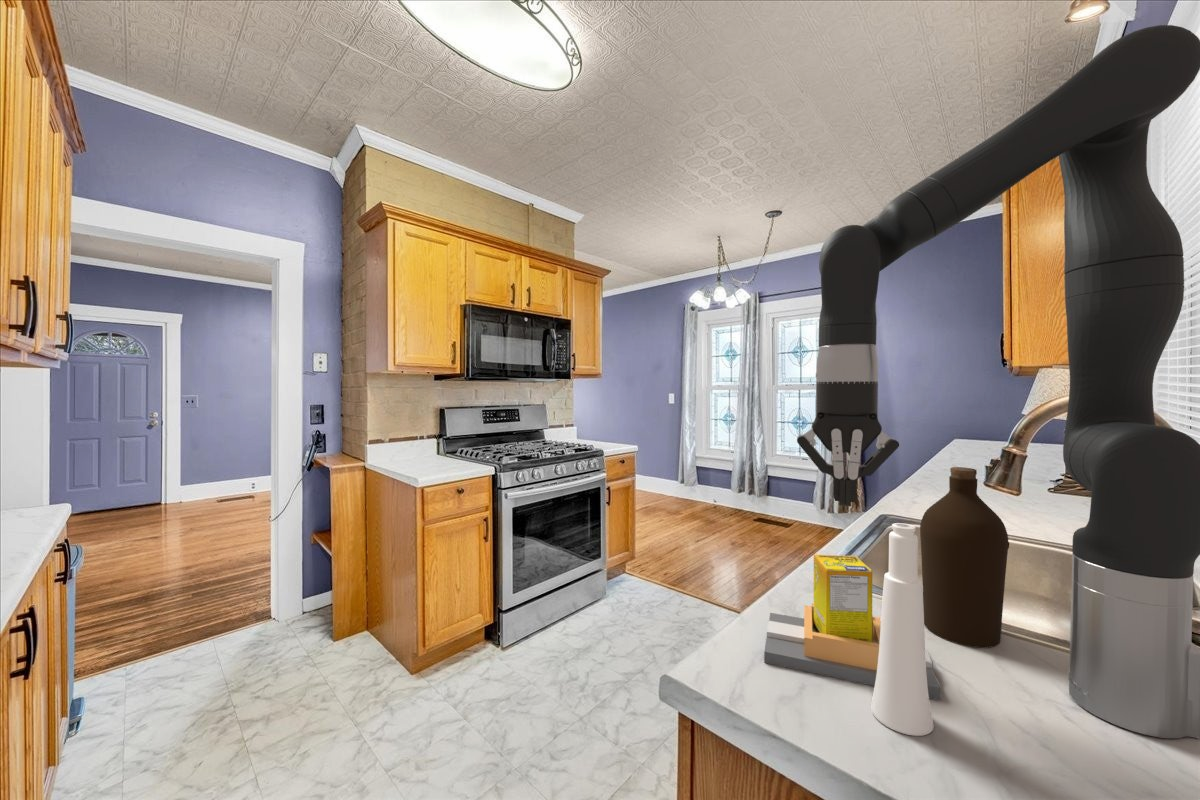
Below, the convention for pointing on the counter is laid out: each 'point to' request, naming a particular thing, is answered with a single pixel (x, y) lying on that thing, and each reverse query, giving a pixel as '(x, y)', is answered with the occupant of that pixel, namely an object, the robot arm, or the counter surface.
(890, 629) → the cosmetic bottle
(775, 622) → the rail mount
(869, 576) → the supplement box
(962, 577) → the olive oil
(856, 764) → the counter surface
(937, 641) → the counter surface
